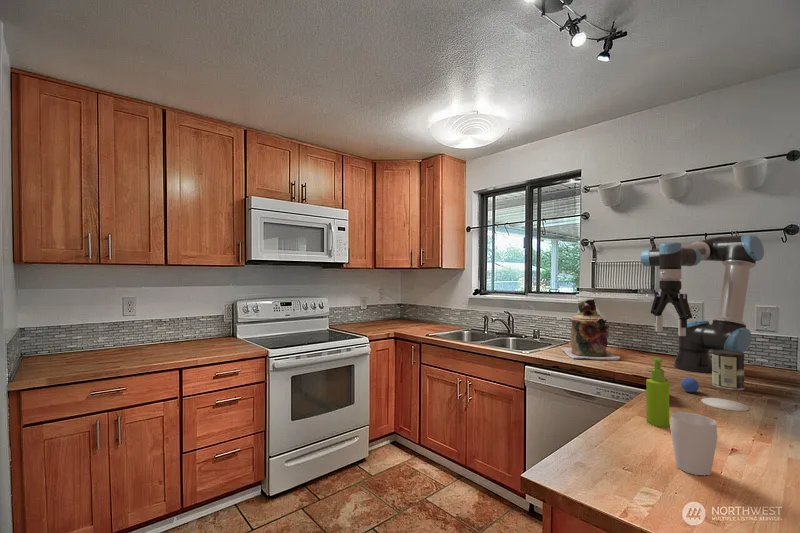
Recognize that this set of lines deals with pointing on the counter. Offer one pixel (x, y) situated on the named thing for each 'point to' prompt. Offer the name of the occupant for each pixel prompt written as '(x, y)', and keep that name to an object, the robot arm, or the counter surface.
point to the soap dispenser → (657, 396)
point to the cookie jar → (589, 334)
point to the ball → (690, 385)
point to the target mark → (725, 404)
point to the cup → (693, 442)
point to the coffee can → (728, 369)
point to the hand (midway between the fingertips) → (670, 333)
